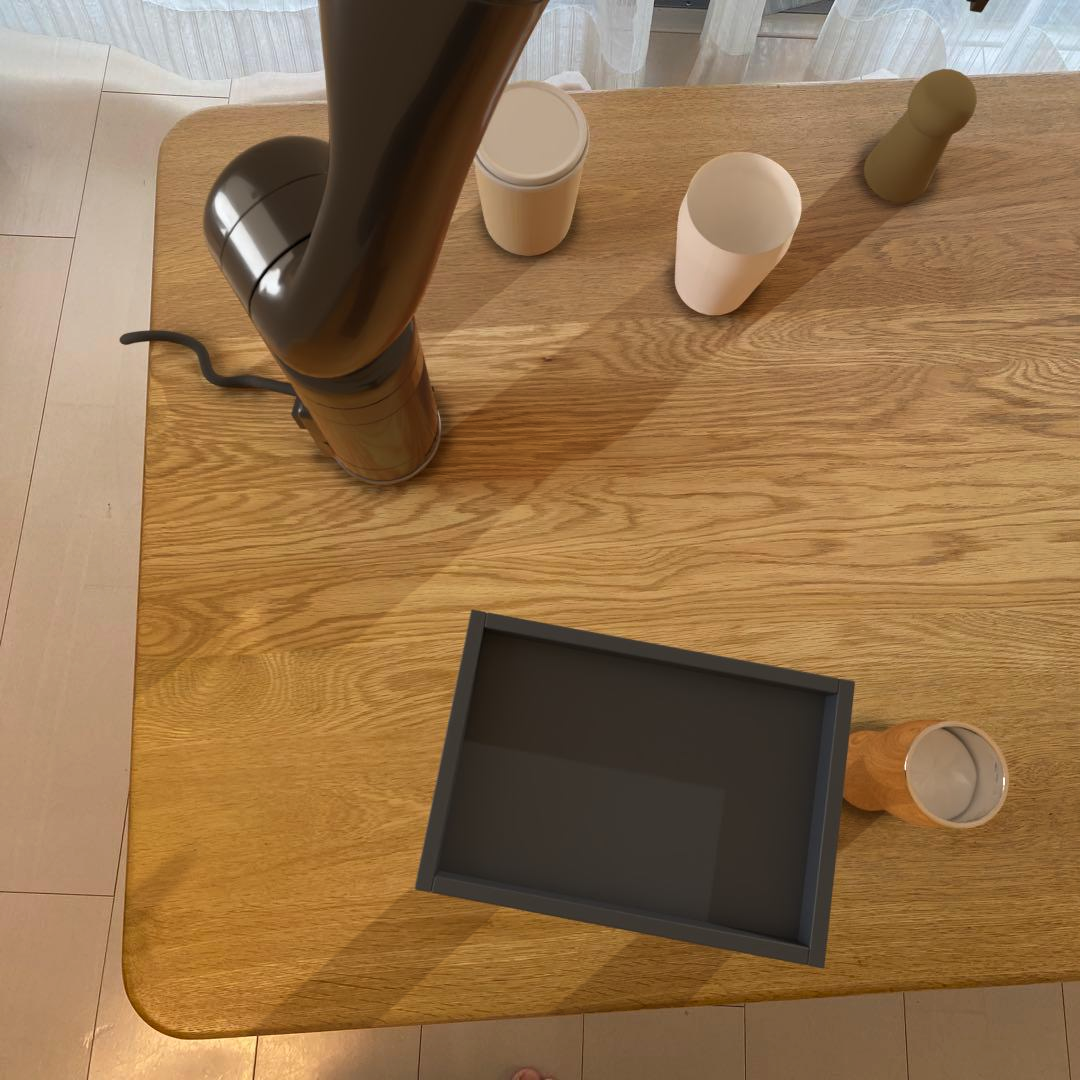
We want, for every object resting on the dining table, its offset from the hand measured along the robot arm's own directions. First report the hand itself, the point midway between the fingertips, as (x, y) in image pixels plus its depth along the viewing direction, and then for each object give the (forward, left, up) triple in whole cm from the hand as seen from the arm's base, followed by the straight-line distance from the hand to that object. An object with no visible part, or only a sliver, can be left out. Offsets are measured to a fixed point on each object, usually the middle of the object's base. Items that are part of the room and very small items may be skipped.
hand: (1039, 12), depth 62 cm
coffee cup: (-33, -7, -23) cm, 41 cm away
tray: (-19, -53, -23) cm, 61 cm away
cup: (-16, -10, -23) cm, 30 cm away
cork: (-1, +4, -23) cm, 23 cm away
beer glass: (+2, -49, -23) cm, 55 cm away
